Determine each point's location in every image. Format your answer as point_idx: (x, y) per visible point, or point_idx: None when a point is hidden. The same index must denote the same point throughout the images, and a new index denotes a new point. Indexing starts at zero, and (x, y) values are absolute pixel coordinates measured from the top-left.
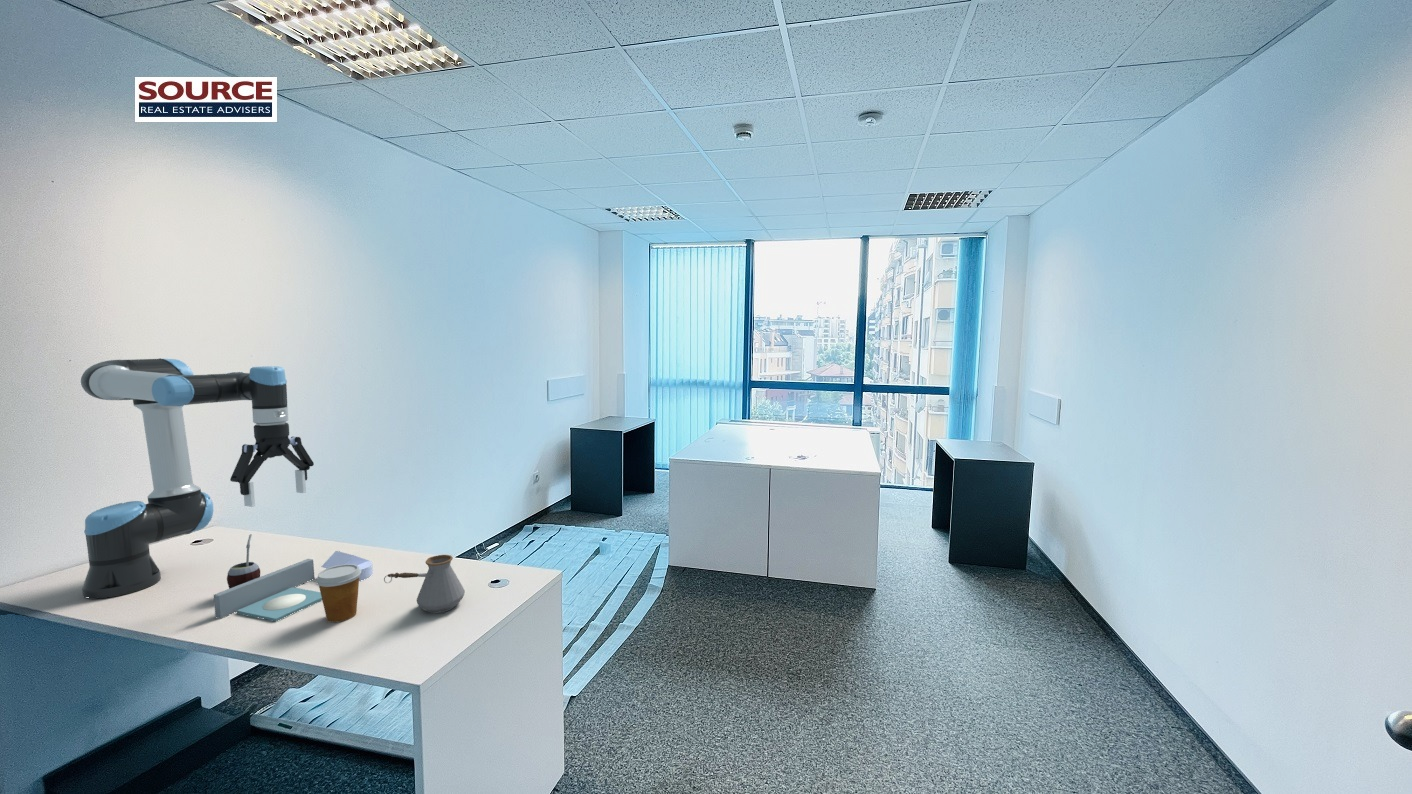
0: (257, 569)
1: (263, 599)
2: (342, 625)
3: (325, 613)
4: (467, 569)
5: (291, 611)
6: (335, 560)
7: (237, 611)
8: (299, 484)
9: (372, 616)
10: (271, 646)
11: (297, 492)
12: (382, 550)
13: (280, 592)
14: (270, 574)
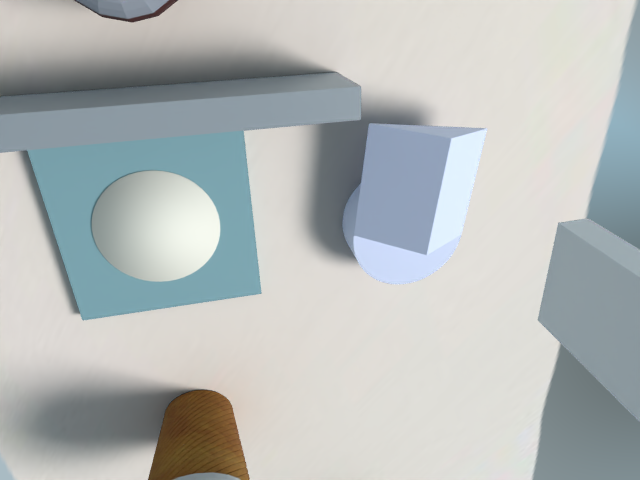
0: (164, 2)
1: None
2: None
3: (162, 425)
4: (503, 422)
5: (133, 311)
6: (401, 178)
7: None
8: (625, 344)
9: None
10: (16, 427)
11: (556, 237)
12: (615, 76)
13: None
14: (172, 119)
